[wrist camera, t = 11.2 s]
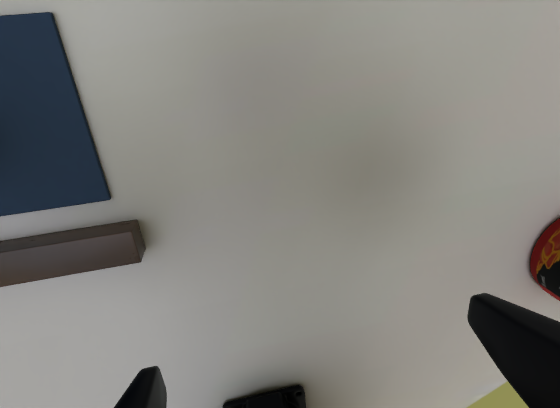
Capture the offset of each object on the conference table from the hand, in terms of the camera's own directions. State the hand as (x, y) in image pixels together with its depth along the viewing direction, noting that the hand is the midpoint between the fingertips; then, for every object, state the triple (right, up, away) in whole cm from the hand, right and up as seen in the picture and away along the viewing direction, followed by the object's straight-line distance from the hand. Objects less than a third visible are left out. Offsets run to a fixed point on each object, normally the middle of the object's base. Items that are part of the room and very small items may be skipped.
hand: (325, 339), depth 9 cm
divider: (-17, +1, +9) cm, 19 cm away
